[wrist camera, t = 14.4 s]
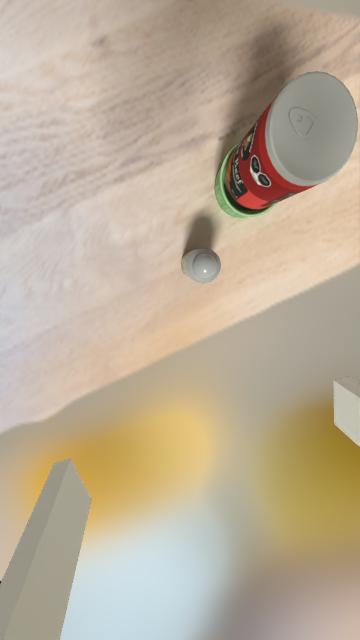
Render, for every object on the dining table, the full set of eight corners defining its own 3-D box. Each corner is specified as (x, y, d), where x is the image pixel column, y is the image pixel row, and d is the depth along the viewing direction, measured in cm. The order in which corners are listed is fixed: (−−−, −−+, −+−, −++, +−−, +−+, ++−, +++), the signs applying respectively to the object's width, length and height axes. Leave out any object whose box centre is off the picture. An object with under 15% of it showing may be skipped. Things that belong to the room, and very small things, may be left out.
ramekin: (280, 172, 33) (299, 160, 29) (251, 231, 35) (265, 228, 31) (228, 139, 31) (240, 121, 27) (200, 204, 33) (208, 196, 28)
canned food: (233, 132, 27) (287, 51, 16) (291, 154, 28) (375, 92, 18) (216, 200, 29) (255, 166, 18) (272, 217, 30) (338, 195, 20)
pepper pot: (184, 281, 35) (194, 288, 28) (178, 253, 34) (186, 252, 27) (211, 274, 36) (227, 280, 28) (205, 246, 34) (221, 244, 27)
